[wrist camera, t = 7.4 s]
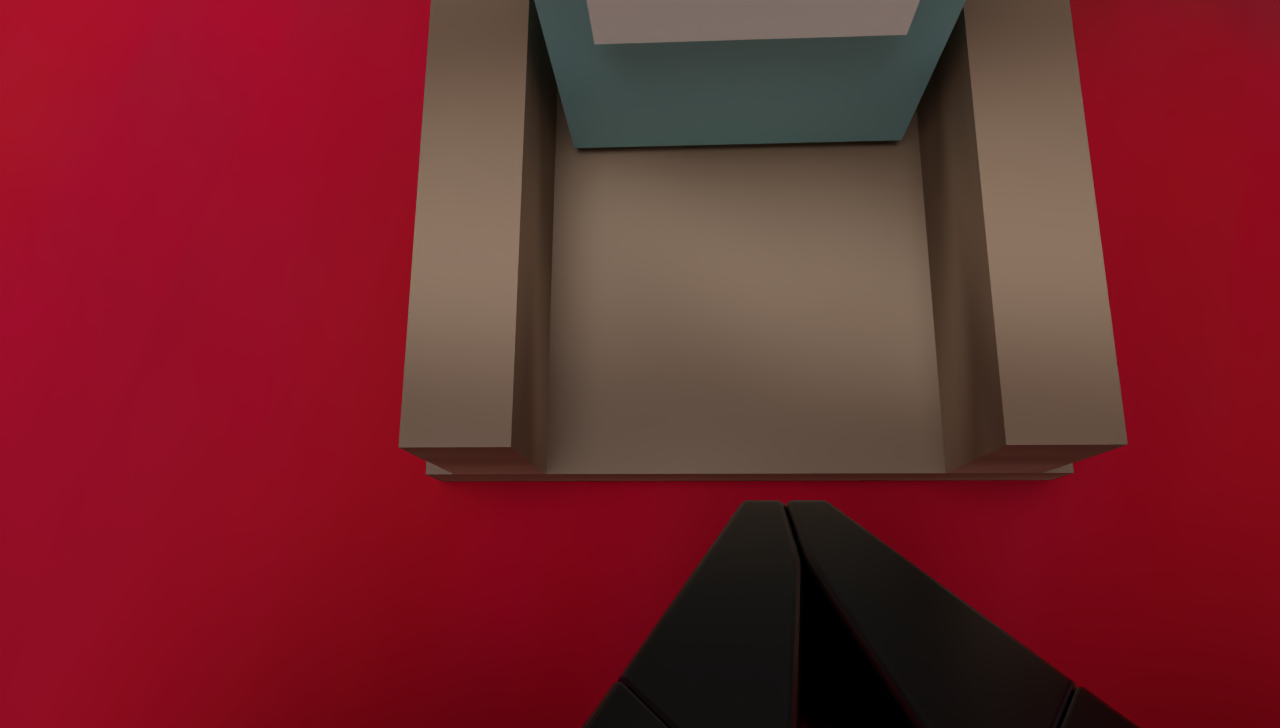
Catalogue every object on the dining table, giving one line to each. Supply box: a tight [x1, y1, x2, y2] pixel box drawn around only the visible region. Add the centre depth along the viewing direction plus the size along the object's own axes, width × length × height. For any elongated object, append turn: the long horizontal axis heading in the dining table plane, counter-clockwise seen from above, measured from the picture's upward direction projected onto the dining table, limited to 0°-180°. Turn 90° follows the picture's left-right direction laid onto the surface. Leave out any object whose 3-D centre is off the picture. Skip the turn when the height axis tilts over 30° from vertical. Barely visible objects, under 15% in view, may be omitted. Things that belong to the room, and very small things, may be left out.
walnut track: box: [399, 0, 1128, 481], centre depth 16 cm, size 13×11×4 cm
